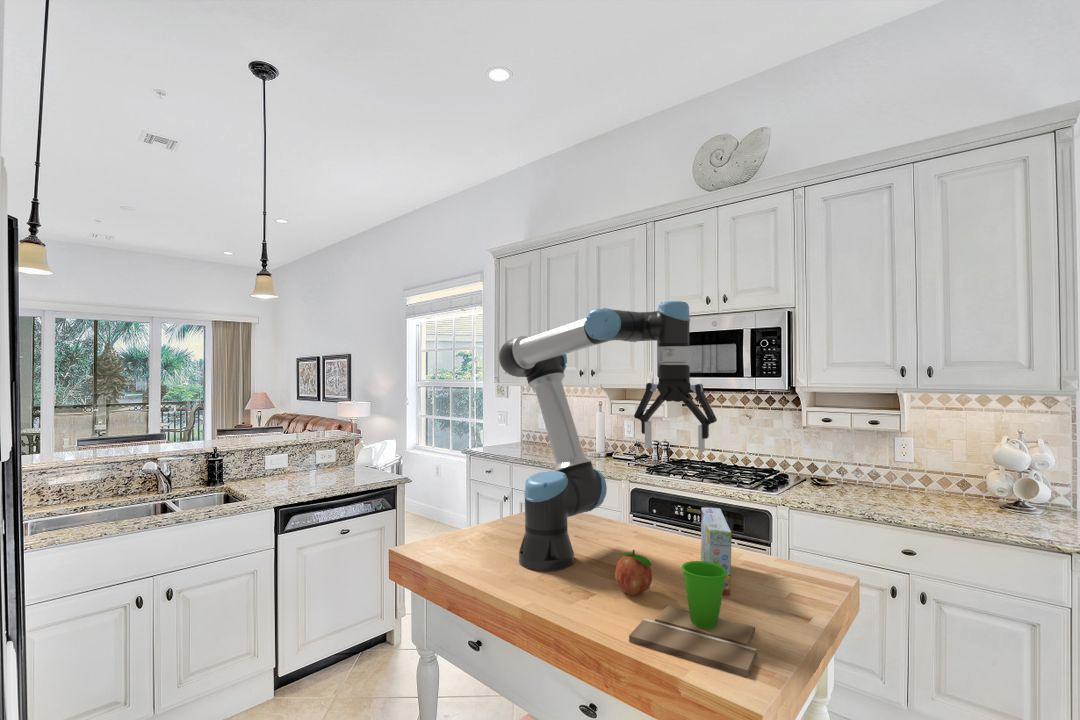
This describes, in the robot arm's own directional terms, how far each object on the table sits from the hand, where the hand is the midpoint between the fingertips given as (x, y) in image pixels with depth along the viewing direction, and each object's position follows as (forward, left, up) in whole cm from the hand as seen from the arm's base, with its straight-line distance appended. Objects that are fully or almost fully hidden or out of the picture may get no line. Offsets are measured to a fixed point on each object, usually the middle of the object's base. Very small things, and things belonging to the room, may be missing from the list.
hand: (674, 449), depth 133 cm
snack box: (+8, +7, -33) cm, 35 cm away
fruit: (-6, -12, -33) cm, 35 cm away
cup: (+13, -20, -32) cm, 40 cm away
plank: (+13, -20, -33) cm, 40 cm away
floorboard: (+13, -29, -33) cm, 45 cm away
